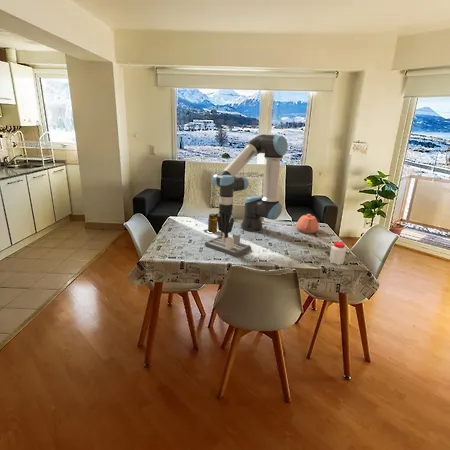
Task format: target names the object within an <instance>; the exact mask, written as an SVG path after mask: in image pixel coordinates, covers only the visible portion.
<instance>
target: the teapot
mask: <svg viewBox="0 0 450 450" xmlns="http://www.w3.org/2000/svg"><path fill="white" fill-rule="evenodd" d="M319 226H320V225H319V223H318V220H317V218H316V217H315V216H313V215H312V214H311V213H307V214H304V215H302V216H301V217H300V218H299V219H298V220H297V223H296V226H295V227H296V230H297V231H299V232H300V233H304V234H315V233H316V232H318V231H319V228H320V227H319Z"/></svg>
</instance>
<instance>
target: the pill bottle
mask: <svg viewBox="0 0 450 450" xmlns="http://www.w3.org/2000/svg"><path fill="white" fill-rule="evenodd" d="M345 245H346V243H344V242H342V241H334V242H333V245H331V247H330V252H329V259H328V261H329V260H330V261H331V262H334V263H343V262H344V263H345V257H346V254H347V253H346V252H347V247H345ZM331 262H330V263H331Z"/></svg>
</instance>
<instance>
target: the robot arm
mask: <svg viewBox="0 0 450 450" xmlns="http://www.w3.org/2000/svg"><path fill="white" fill-rule="evenodd" d="M288 148H289V147H288V141H287V139H286V137H285V136H283V135H279V134H259V135H256V136H254V137H253V138H252V139H250V140H249V141H248V142H247V143H246V144H245V145H244V148H243V150H242V151H240V152H239V154H238V155H236V157H235V158H234V159H233V160H232V161H231V162H230V163H229V164H228V165H227V166H226V167H225V168H224V169H223V170H222V171H221V172H220V173H214V174H213V176H212V178H211V182H212V185H213V186H215V187H217V188H219V201H218V202H219V203H218V204H219V205H218V210H219V211H218V212H217V213H215V214H216V217H217V230H218V231H219V232H221V234H220V236H221V237H222V243H223V244H225V243H226V238H227V237H229V233H231V232H232V230H233V225H234V224H235V221H236V217H235V216H233V209H234V207H233V203H234V192H235V193H236V192H241V191H244V190H247V189H248V187H249V180H248V179H247V178H246V177H245V176H237V175H238V174H239V172H240V171H241V170H242V169H243V168H244V167H245V166H246V165H247V164H248V163H249V162H250V161H251V160H252V159H253V158H254V157H255V158H256V157H257V155H260V154H264V158H265V160H266V163H265V164H266V165H265V177H264V190H263V192H264V194H263V196H261V195H251V196H247V197H246V198H245V200H244V212H243V213H244V214H243V219H242V221H241V224H240V225H241V226H240V228H241V230H243V231H245V232H246V231H248V232H260V231H262V230H263V223H262V219H261V218H264V219H267V220H271V221H272V220H273V221H274V220H277V219H278V218H279V217H280V216H281V214H282V211H283V205H282V204H281V203H280V198H278V193H279V192H278V191H279V190H278V189H279V177H280V166H281V165H280V164H281V160H283V158H284V156H285V155H286V154H287V151H288Z"/></svg>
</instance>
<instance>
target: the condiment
mask: <svg viewBox="0 0 450 450" xmlns="http://www.w3.org/2000/svg"><path fill="white" fill-rule="evenodd" d="M216 214H217V213H209V215H208V220H207V223H208V224H207V225H208V227H207V229H204V230H203V232H205V231H207V230H208V231H209V232H213V233H212V234H215V233H214V232H217V231H218V232H217V233H220V230H218V222H217V217H216Z"/></svg>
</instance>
